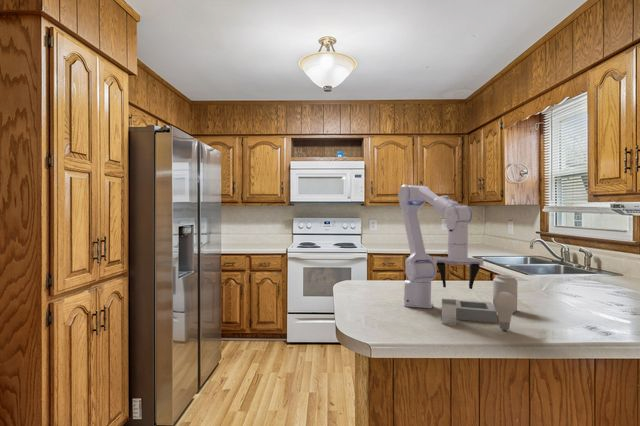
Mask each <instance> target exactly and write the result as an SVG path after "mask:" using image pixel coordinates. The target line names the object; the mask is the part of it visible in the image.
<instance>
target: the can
mask: <svg viewBox="0 0 640 426" xmlns="http://www.w3.org/2000/svg"><path fill="white" fill-rule="evenodd" d="M494 276H495V277H494V278H493V281H492V300H493V299H494V297H495V295H496V294H498V293H500V292H508V293H510V294H512V295H513V296H514V297H515V298H516V301H517V302H518V281H517V279H516V276H514V275H510V274H509V275H508V274H495V275H494ZM492 304H493V303H492ZM493 306H494V304H493ZM494 308H495V307H494ZM517 310H518V306H517V307H516V309H515V311H514V312H513V313H515V312H516V311H517Z"/></svg>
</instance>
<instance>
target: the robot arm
mask: <svg viewBox="0 0 640 426" xmlns="http://www.w3.org/2000/svg"><path fill="white" fill-rule="evenodd" d="M397 197H398V198H397V199H398V202H399V207H400V209H401V213H402V218H403V222H404V223H403V224H404V228H405V229H404V230H405V232H406V233H405V234H406V238H407V243H408V248H409V252H410V255H409V256H408V257H407V258H406V260H405V261H404V262H405V275H406V277H407V279H405V280H404V290H403V291H404V295H403V301H404V302H403V306H404V307H411V308H412V307H413V308H421V309H422V308H423V309H432V308H433V302H432V282H433V281H434V279H435V278H436V276H437V269H438V271H439V274H440V276H441V280H442V287H443V288H447V287H446V286H447V283H446V282H447V281H446V268H447V267H446V265H464V266H465V265H467V266H468V265H469V267H468V268H469V283H468V288H469V289H470V290H472V289H473V287H474V282H475V279H476V277H477V275H478V273H479V271H480V269H481V268H480V267H484V259H483V258H476V257H469V256H468V255H469V254H468V252H469V251H468V250H469V249H468V248H469V245H468V243H469V240H468V239H469V223H471V221H472V220H473V210H472V208H471V207H469V206H468V205H466V204H465V205H464V204H463V205H461V204H459V202H458V201H454V200H453V199H451V198H450V196H449V195H441V196H439V195H437V194H436V193H435V192H433V191H432V190H430V187H429V186H426V185H425V184H424V185H413V184H411V185H410V184H409V185H408V184H402V185H401V186H400V188H399V190H398V193H397ZM426 202H427V203H428V204H430V205H431V206H432V209H433V210H434V211H435V212H437V213H438V214H440V215H441V216H442V217H444V221H445V223H446V229H447V231H448V233H447V235H448V237H447V239H448V241H447V242H448V243H447V244H448V245H447V256H433V257H432V256H431V255H429V254H428V252H426V249H425V245H424V240H423V235H422V230H421V225H420V221H419V217H418V211H419V210H421V209H422V208H423V207H424V205H425V204H426Z"/></svg>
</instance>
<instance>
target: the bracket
mask: <svg viewBox="0 0 640 426" xmlns="http://www.w3.org/2000/svg"><path fill="white" fill-rule="evenodd" d="M453 299H454V298H453ZM453 299H452V298H451V299H449V298H441V325H450V326H457V319H456V300H457V299H455V300H453Z"/></svg>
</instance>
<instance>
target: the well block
mask: <svg viewBox="0 0 640 426" xmlns="http://www.w3.org/2000/svg"><path fill="white" fill-rule="evenodd" d="M453 300H456V320H460V321H462V320H463V321H472V322H482V323H493V324H494V323H495V324H497V322H498V320H497V319H498V313H497V311H496V309H495V308H494V306H493V302H491V301H490V302H489V301H481V300H480V301H479V300H477V301H476V300H465V299H454V298H453Z"/></svg>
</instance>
